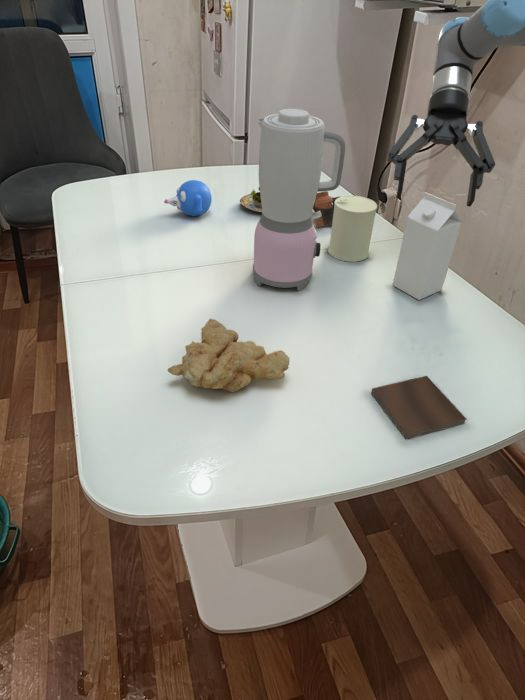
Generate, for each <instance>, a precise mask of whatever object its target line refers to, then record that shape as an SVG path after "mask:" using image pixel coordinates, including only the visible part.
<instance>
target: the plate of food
mask: <svg viewBox="0 0 525 700" xmlns="http://www.w3.org/2000/svg"><path fill="white" fill-rule="evenodd" d="M257 189H258V191H257V192H256V190H255V189H252V191H251V192H250V193H249V194H245V195H243V196H242V197H241V198H240V199H239V202H240V204H241V206H243V207H244V208H246V209H248V210H250V211H253V212H258V213H262V203H261V195H260V187H259V186H258V188H257Z"/></svg>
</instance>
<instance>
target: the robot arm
mask: <svg viewBox="0 0 525 700" xmlns="http://www.w3.org/2000/svg"><path fill="white" fill-rule="evenodd" d="M522 46H525V0H487V1H486V2H484V3H483V4H482V5H481V6H480V7H479V8H478V9H477V10H476V11H474V13H472V14H471V15H470V16H469V17H466V16H458V17H456V18H455V19H450V20H449V21H447V22H446V23H445V24H444V25H443V27H442V28H441V30H440V32H439V37H438V41H437V44H436V50H435V51H436V52H435V59H434V66H433V73H432V82H431V88H430V93H429V100H428V107H427V112H426V118H425V119H424V118H418V117H419V116H418V115H417V114H412V116H411V117H410V121H409V124H408V125H407V127H406V129H405V130H404V131H403V133H402V134H401V135H400V137H399V138H398V140H397V141H396V142H395V144H394V145H393V146H392V148H391V149H390V150H389V152H388V155H387V158H386V159H387V160H386V161H387V163H393V164H394V174H393V180H394V181H398V185H397V191H396V197H395V198H396V199H401V197H402V194H403V189H404V183H405V176H406V170H407V163H408V160H410V159H411V158H412V157H413V156H414V155H415V154H417V153H418V152H419V151H420V150H421V149H422V148H424V147H426V146H427V145H428V144H430V143H433V145H444V146H447V147H450V145H453V147H454V148H455V150H458V152H459V153H460V155H461V156H462V157H463V158H464V160H465V161H466V163H467V164H468V165H469V167H470V168H471V169H472V172H471V174H470V177H469V178H470V179H469V185H468V192H467V200H466V207H472V205H473V203H475V199H476V192H477V190H480V188H481V187H482V185H483V182H484V175H485V173H487V174H489V173H491V172H492V171H493V170H494V167H496V162H495V159H494V157H493V154H492V151H491V149H490V147H489V144H488V142H487V139H486V136H485V134H484V123H483V121H482V120H477V121H476V123H468V121H467V117H468V108H469V102H470V94H471V87H472V80H473V75H474V73H473V72H474V68H475V65H476V63H477V62H479V61H480V60H482V59H484V58H485V57H486V56H487V55H489V54H490V53H491V52H493V51H494V50H495V49H497V48H500V47H522ZM420 128H422V129H423V131H424V133H423V134H422V135H421V136H420V137H418V139H415V141H414V142H413V143H411V144H410V145H409V146H408V147H407V148H405V150H403V151H402V149H404V147H405V145H406V144H407V143H408V141H409V140H410V139H411V137H412V136H413V134H414V132H416V131H419V129H420ZM467 132H468V133H469V136H470V137H472V142H473V144H474V146H475V149H476V151H475V149H474V147H473V146H472V145H471V144H470V142H469V141H468V139H467V136H466V135H465V133H467ZM401 151H402V152H401ZM400 152H401V153H400Z"/></svg>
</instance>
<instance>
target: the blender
mask: <svg viewBox="0 0 525 700" xmlns="http://www.w3.org/2000/svg"><path fill="white" fill-rule="evenodd" d="M256 122H257V123H258V125H259V127H260V137H259V148H258V149H259V150H258V185H259V186H258V188H259V187H260V191H259V192H260V195H261V203H262V212H261V215H260V218H259V220H258V222H257V224H256V226H255V230H254V237H253V263H252V274H253V276H254V282H255V283H256V284H257V285H258V286H263V284H264V285H267V286H270V287H274V288H284V289H287V288H295V289H296V290H297V291H301V290H304V289H305V288H306V286H307V283H308V282H309V281H310V280H311V278H312V276H313V266H314V259H315V258H316V257H317V258H318V257H320V256H321V245H322V244H321V243H320V242H317V240H316V239H317V237H318V235H317V230H316V227H315V224H314V221H313V218H312V214H313V211H314V210H313V206H314V203H315V199H316V195H317V193H319V192H324V191H328V192H330V191H334V190H336V189H337V188H339V186H340V184H341V181H342V174H343V170H344V169H343V168H344V163H345V154H346V142H345V139H344V138H343V137H342V136H341V135H340V134H339V133H337V132H332V131H328V130H327V131H325V129H326V128H325V127H326V125H325V122H324V121H323V120H322V119H320V118H319V117H316V116H313V115H310V113H309V111H307V110H305V109H300V108H284V109H280V110H279V111H278V113H273V114H269V115H266V116H265V117H264V118H258V119H256ZM325 143H329V144H333V145H334V146H335V150H334V159H333V167H332V174H331V179H330V180H327V181H321V177H322V168H323V157H324V149H325V148H324V147H325V145H324V144H325Z"/></svg>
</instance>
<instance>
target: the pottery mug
mask: <svg viewBox="0 0 525 700" xmlns="http://www.w3.org/2000/svg"><path fill="white" fill-rule="evenodd" d="M339 197H341V196H336V197H335V196H334V197H333V196H331V195H329V191H321V192H317V195H316V199H315V203H314V206H313V210H312V211H313V212H314V213H315V214H316V213H318V212H320V214H321V215H320V216H318V217H316V218H313V223H314V227H315V229H316V228H322V227H326V226H332V222H333V214H334V202H335V200H336V199H337V198H339Z"/></svg>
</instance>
